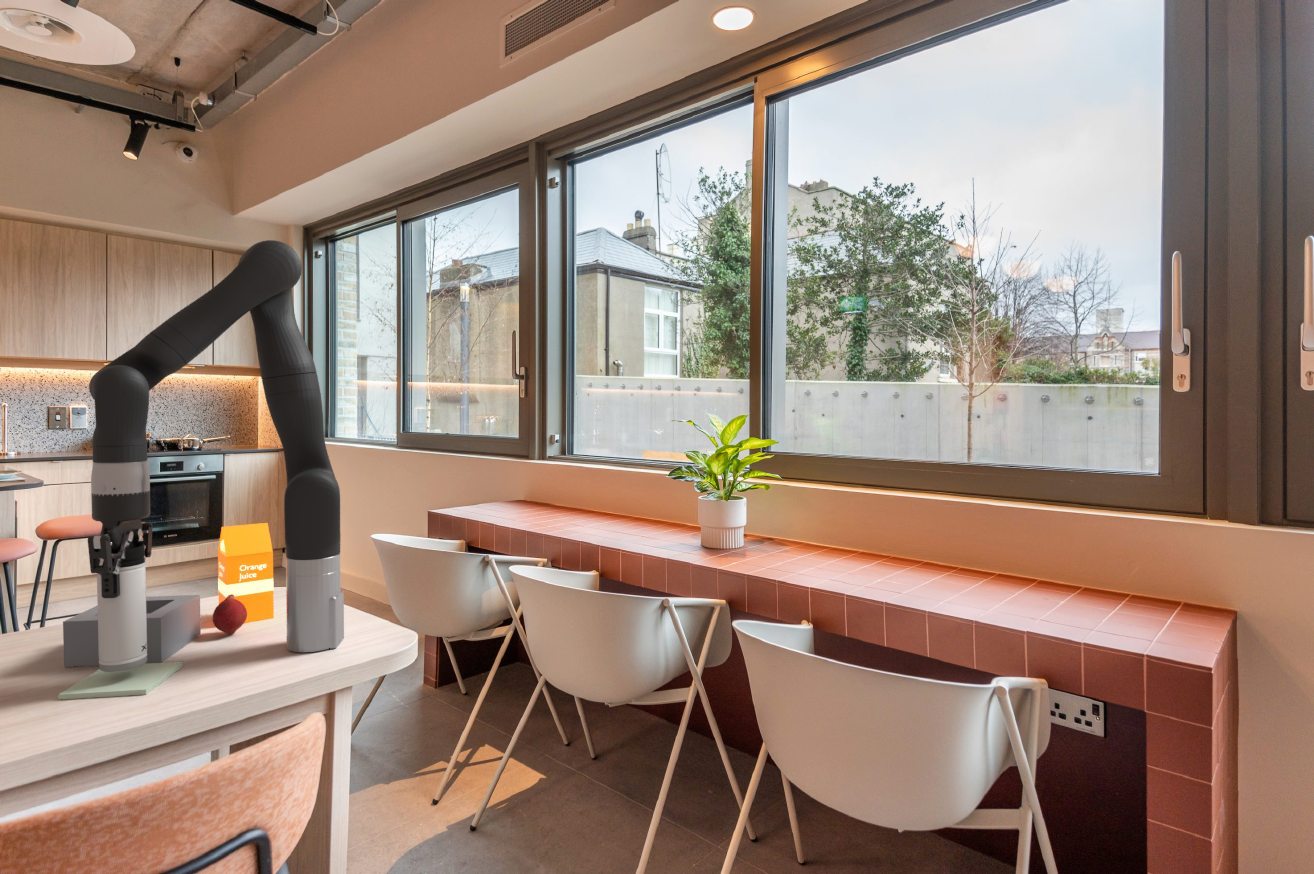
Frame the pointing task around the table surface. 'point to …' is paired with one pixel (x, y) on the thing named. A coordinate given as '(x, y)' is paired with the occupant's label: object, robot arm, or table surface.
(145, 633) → the travel mug
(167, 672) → the mat
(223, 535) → the orange juice
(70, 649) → the holder
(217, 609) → the onion
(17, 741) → the table surface
